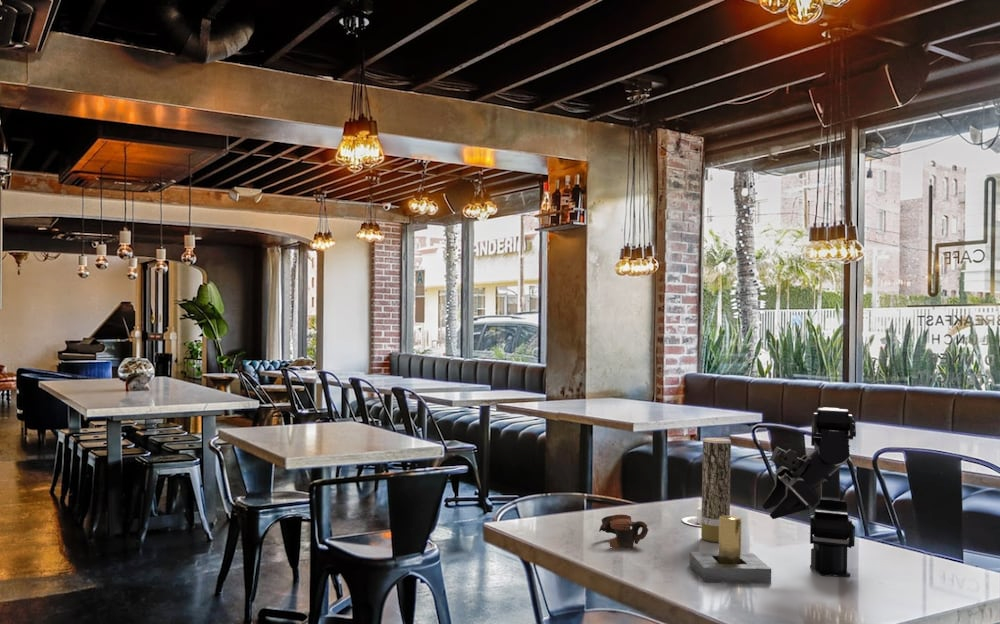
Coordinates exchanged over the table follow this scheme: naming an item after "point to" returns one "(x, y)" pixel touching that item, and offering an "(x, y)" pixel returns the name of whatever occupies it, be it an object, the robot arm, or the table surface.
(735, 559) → the brass cylinder
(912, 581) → the table surface
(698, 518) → the candle holder
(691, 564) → the jig plate
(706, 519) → the bark covered log
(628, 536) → the pottery mug
